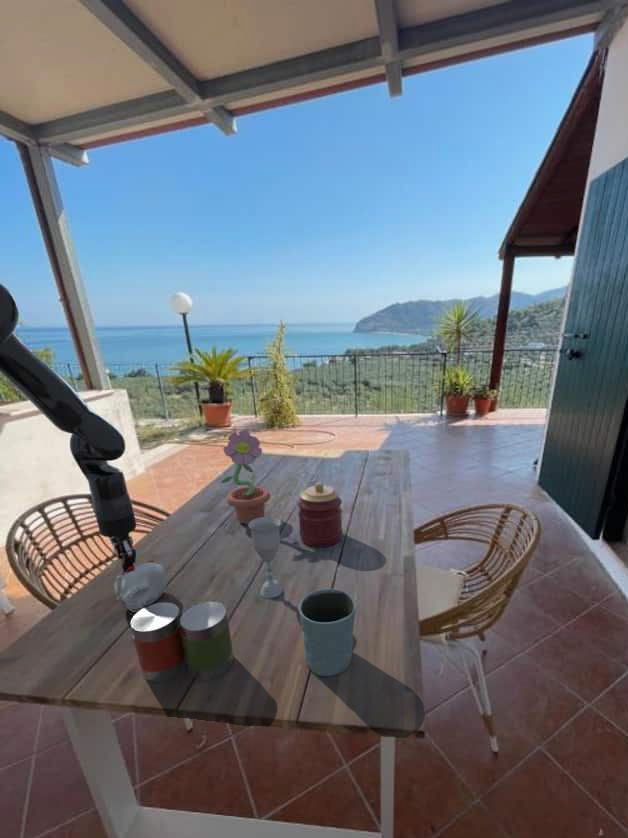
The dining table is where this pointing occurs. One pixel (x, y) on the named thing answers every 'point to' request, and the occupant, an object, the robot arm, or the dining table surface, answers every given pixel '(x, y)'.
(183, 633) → the tin cans
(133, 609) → the grey rounded lumpy piece
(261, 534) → the chalice
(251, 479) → the decorative flower
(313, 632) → the light blue cup
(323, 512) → the kitchen canister
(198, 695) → the dining table surface
